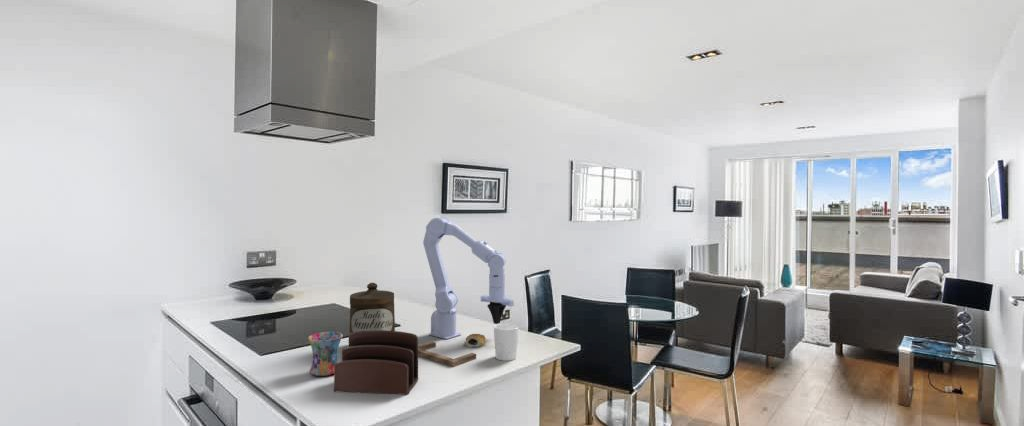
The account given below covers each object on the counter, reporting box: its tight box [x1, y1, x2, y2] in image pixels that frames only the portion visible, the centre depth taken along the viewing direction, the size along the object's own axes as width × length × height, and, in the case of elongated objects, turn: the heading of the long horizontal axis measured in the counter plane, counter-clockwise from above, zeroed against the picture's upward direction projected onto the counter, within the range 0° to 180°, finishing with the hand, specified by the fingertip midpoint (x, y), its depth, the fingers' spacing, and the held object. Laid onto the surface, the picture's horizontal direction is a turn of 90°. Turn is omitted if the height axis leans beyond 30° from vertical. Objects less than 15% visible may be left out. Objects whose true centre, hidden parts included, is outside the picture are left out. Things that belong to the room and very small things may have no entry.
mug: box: [307, 331, 344, 377], centre depth 137 cm, size 12×9×11 cm
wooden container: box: [349, 282, 396, 334], centre depth 160 cm, size 15×15×22 cm
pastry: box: [464, 333, 487, 348], centre depth 165 cm, size 9×7×4 cm
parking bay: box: [418, 341, 477, 368], centre depth 152 cm, size 21×10×2 cm, turn 51°
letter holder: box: [333, 330, 419, 395], centre depth 126 cm, size 10×20×14 cm, turn 86°
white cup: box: [493, 323, 520, 362], centre depth 150 cm, size 8×8×10 cm
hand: (496, 323), depth 173 cm, fingers closed
